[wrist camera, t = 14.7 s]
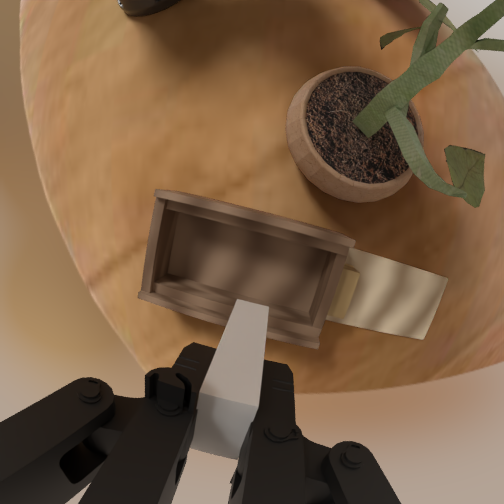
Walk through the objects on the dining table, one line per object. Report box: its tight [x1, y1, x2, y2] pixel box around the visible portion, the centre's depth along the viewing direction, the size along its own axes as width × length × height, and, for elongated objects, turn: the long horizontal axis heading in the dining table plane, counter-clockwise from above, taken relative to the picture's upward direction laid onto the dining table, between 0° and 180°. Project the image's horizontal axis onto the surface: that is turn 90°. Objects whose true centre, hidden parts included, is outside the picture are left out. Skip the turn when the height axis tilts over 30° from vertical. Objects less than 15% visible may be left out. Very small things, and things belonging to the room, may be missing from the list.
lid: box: [325, 247, 448, 340], centre depth 32 cm, size 19×10×5 cm, turn 76°
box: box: [138, 189, 356, 349], centre depth 32 cm, size 22×13×7 cm, turn 76°
